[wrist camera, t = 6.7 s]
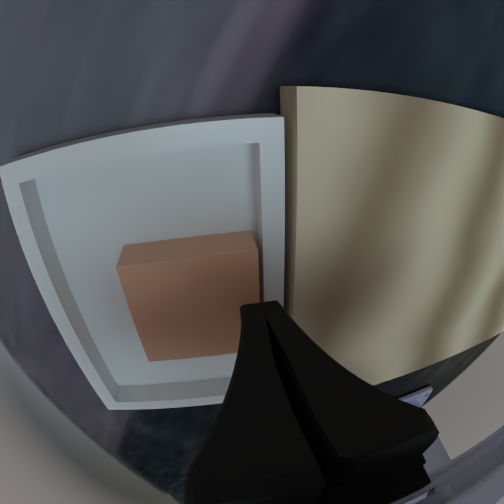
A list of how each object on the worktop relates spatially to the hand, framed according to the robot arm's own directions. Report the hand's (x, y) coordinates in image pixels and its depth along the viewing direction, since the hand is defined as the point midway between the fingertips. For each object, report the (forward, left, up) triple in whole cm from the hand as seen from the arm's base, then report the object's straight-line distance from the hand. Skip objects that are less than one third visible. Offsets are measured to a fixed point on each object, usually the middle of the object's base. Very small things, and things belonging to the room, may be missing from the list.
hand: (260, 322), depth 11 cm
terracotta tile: (0, +2, -2) cm, 3 cm away
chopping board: (0, -12, -3) cm, 12 cm away
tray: (0, +4, -3) cm, 5 cm away
